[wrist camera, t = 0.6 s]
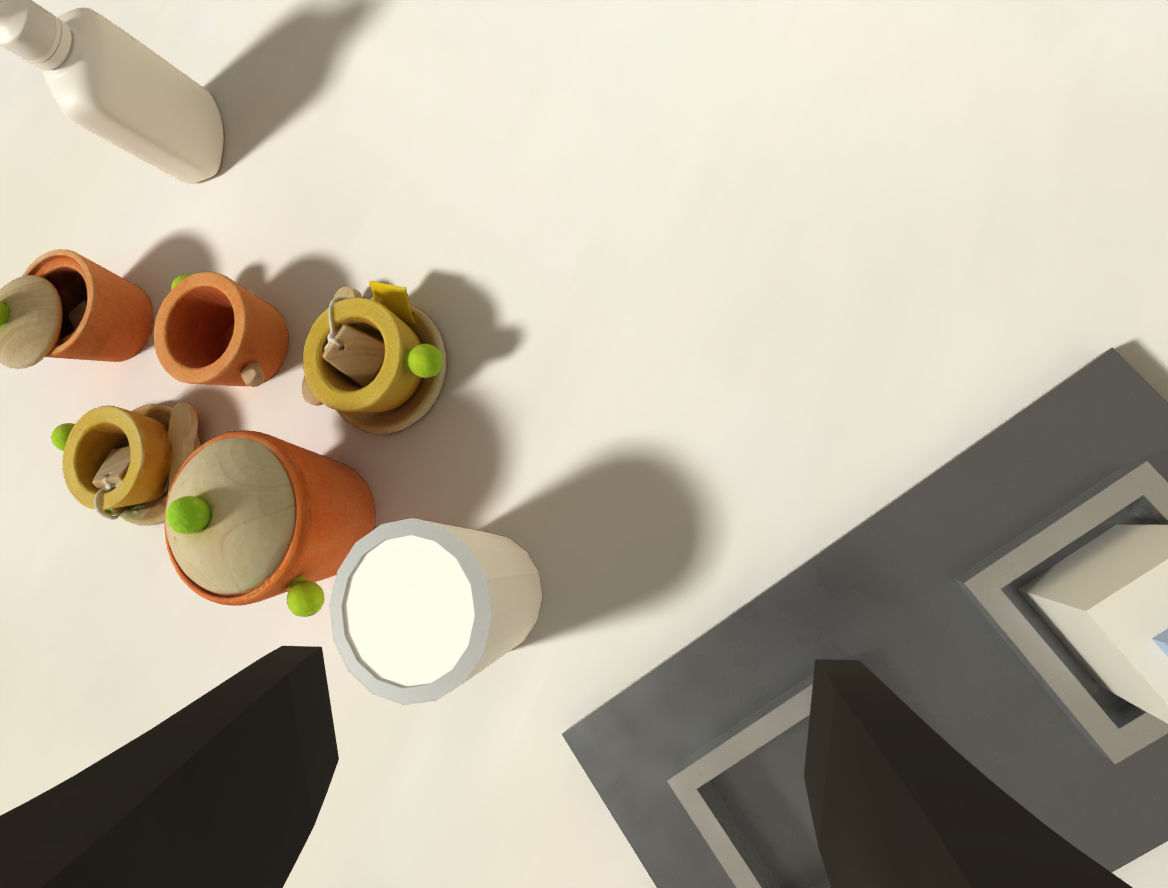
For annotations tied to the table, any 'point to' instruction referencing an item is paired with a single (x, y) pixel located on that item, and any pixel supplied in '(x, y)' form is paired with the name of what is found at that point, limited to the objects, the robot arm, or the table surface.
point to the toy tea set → (234, 459)
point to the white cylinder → (430, 607)
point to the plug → (1114, 611)
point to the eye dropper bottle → (118, 88)
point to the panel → (911, 657)
